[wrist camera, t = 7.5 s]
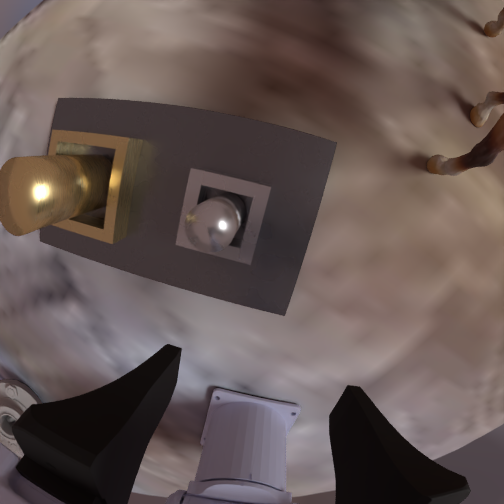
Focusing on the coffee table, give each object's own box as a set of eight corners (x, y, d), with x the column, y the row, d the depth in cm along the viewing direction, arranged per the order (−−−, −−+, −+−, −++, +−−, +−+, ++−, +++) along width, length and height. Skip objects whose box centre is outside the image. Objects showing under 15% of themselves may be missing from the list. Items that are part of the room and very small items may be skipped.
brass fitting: (112, 214, 19) (37, 243, 11) (71, 204, 19) (-6, 227, 11) (120, 157, 18) (41, 160, 10) (77, 152, 18) (-3, 155, 10)
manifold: (284, 309, 21) (286, 358, 15) (47, 238, 21) (0, 258, 15) (333, 143, 18) (359, 134, 12) (65, 99, 18) (15, 90, 12)
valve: (29, 356, 39) (-19, 393, 30) (8, 372, 23) (-54, 422, 14) (62, 401, 40) (14, 437, 31) (60, 438, 24) (-3, 483, 16)
